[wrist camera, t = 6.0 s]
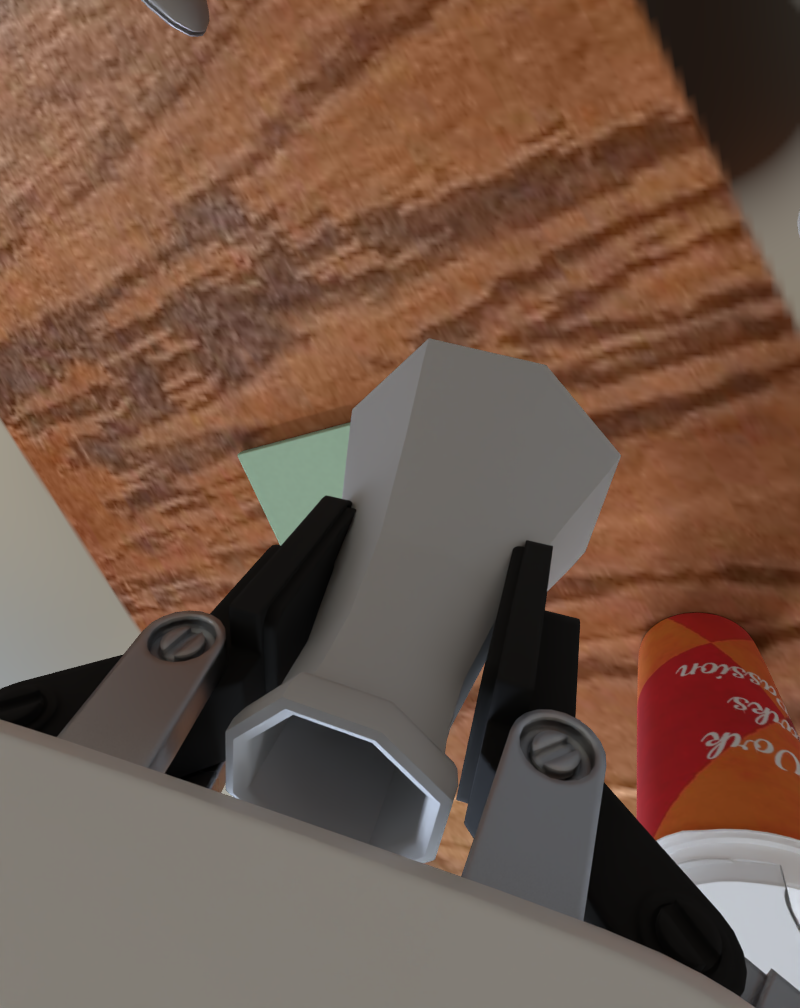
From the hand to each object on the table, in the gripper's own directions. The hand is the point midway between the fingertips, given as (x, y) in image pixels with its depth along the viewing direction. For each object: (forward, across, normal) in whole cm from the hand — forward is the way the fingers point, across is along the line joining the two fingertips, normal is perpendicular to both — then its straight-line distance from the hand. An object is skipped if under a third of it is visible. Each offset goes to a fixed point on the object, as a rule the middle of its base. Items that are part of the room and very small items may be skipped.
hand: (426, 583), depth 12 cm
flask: (+5, 0, 0) cm, 5 cm away
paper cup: (+17, -12, +13) cm, 25 cm away
